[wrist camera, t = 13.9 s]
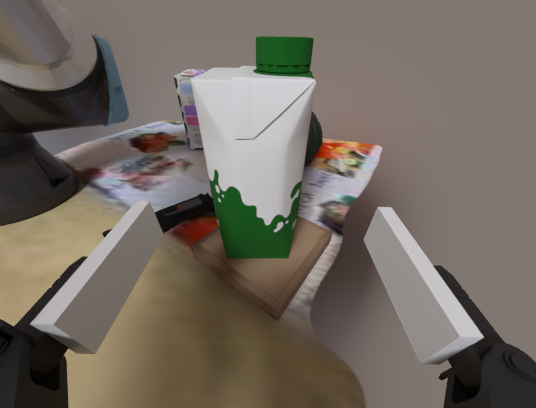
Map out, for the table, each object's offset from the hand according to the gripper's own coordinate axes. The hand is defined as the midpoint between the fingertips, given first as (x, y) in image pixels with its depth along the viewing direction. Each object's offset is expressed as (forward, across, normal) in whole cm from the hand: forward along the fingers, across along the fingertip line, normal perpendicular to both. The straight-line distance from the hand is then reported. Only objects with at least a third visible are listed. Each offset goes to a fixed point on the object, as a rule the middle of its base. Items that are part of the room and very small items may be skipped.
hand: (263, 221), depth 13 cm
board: (+9, 0, -13) cm, 16 cm away
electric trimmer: (+14, -14, -14) cm, 24 cm away
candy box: (+48, -18, -14) cm, 53 cm away
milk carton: (+9, -1, -11) cm, 15 cm away
